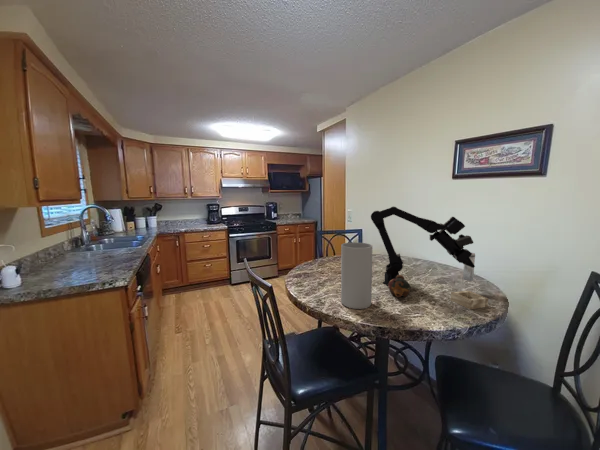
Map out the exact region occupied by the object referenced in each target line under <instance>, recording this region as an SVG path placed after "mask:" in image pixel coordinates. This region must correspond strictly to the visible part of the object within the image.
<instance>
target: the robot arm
mask: <svg viewBox="0 0 600 450" xmlns="http://www.w3.org/2000/svg"><path fill="white" fill-rule="evenodd" d="M392 216H395V217H399V218H401V219H403V220H405V221H408V222H410V223H412V224H415V225H416V226H418V227H419V228H420V229H422V230H424V231H426V232H427V233H429V241H431V242H433V241H434V240H435V241H437V243H439V244H440V245H441V247H443V248H444V250H446V253H448V254H449V255H450V256H452V258H454V259H455V260H456V261H457V262H458V263H459V264H463V265H464V264H465V265H468V266H470V267H472V268H474V269H475V267H476V266H475V263H474V264H473V262H472V261H471V259H470V258H469V256H471V255H472V253H473V252H471V251H470V250H468V249H466V248H465V246H467V245H468V246H469V245H472V244H475V243H474V240H473V238H472V237H471V236H472V235H471V236H470V235H464V234H461V233H460V234H459V235H458V237H457V239H455V238H453V237H452V236H451V235H457V233H459V232H460V231H462V230H463V229H464V228H465V227H466V225H465V224H464V223H463V222H462V221H460V220H459V219H458V218H456V217H455V216H451V217H450V218H449V219H448V220H447V221H446V222H445V223H441V222H440V223H438V222H436V220H431V219H428V218H425V217H424V218H423V217H419V216H416V215H414V214H412V213H409V212H407V211H406V210H405V211H404V210H402V209H400V208H398V207H396V206H391V207H389V208H386V209H383V210H374V211H373V212H372V213H371V215H370V219H371V221H372V223H373V224H374V226H375V227H376V229H377V231H378V233H379V236H380V239H381V240H382V243H383V246H384V248H385V251H386V252H387V254H388V255H387V256H388V260H389V261H388V262H389V263H388V264H387V265H386V266H385V272H384V281H382V284H384V285H386V286H388V283H389V282H390V281H391V280H392V279H394V278H396V276H398V275H400V273H399V272H401V271H402V269H403V268H404V266H403V265H404V261H403V259H402V257H401V254H400V253H398V254H397V252H396V251H395V248H394V246H393V244H392V241H391V238H390V236H389V234H388V231H387V228H386V226H385V220H384V219H386V218H388V217H392Z"/></svg>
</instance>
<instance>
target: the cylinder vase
mask: <svg viewBox="0 0 600 450" xmlns="http://www.w3.org/2000/svg"><path fill="white" fill-rule="evenodd" d="M340 248H341V249H340V251H341V252H340V253H341V254H340V256H341V257H340V262H341V263H340V268H341V269H340V274H341V275H340V276H341V277H340V279H341V280H340V285H341V286H340V289H341V290H340V302H341V304H342V305H343V306H345V307H347V308H350V309H354V310H363V309H367V308H369V307H370V306H371V305H372V295H373V294H372V293H373V291H372V290H373V289H372V287H373V285H372V283H373V282H372V281H373V244H370V243H367V242H365V243H364V242H344V243H342V244H341V247H340Z"/></svg>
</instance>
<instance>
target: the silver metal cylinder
mask: <svg viewBox="0 0 600 450" xmlns="http://www.w3.org/2000/svg"><path fill="white" fill-rule="evenodd" d="M471 253H472V255H471V256H469V258H470V259H471V261H472V262H473V264H474V265H475V261H476V253H474V252H471ZM474 274H475V267H474V268H472V267H470V266H468V265H465V264H463V272H462V280H464V281H469V282H473V281H474V276H475V275H474Z"/></svg>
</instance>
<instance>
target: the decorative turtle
mask: <svg viewBox="0 0 600 450" xmlns="http://www.w3.org/2000/svg"><path fill="white" fill-rule="evenodd" d="M411 287H412V286H411V284H410V283H409V281H408V280H406V279H405V277H404V275H402V274H399V275H398V276H396V278H394V279H392V280H391V281H390V282H389V283H388V285H387V288H388V291H389V292H390V294H391V295H392V296H395V297H396V298H401V297H403V298H406V297H407V296H408V295H409V294H410V291H411Z"/></svg>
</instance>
